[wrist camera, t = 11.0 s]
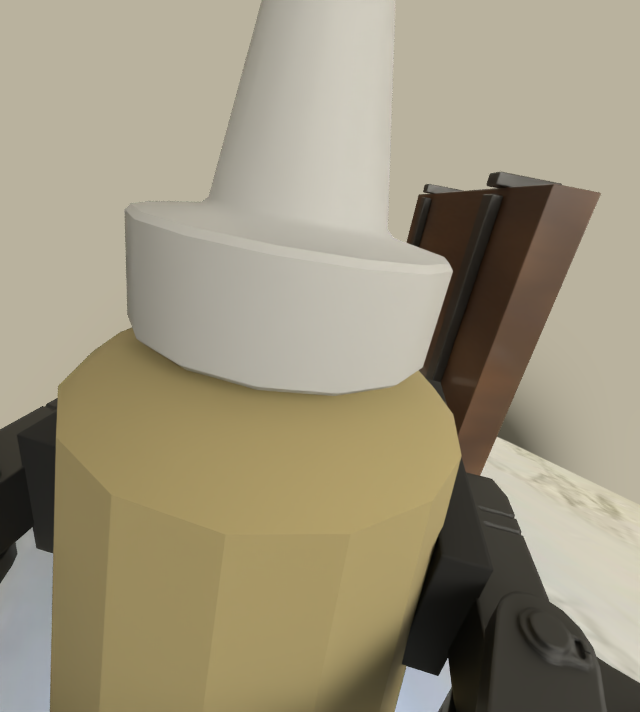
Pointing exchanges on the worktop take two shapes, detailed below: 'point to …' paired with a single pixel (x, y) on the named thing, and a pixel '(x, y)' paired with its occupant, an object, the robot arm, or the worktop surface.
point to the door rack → (495, 290)
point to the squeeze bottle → (260, 412)
